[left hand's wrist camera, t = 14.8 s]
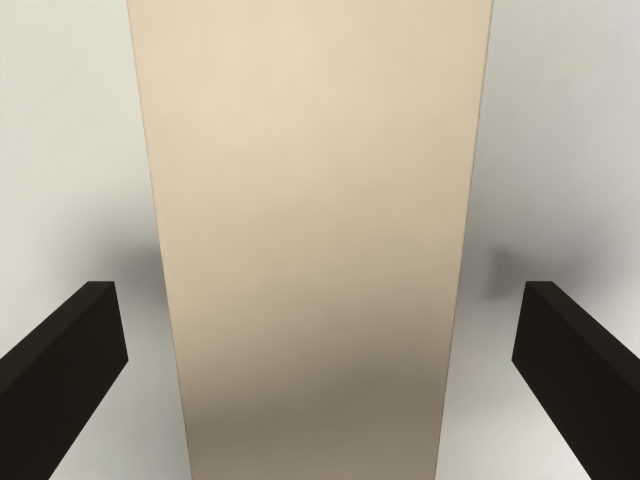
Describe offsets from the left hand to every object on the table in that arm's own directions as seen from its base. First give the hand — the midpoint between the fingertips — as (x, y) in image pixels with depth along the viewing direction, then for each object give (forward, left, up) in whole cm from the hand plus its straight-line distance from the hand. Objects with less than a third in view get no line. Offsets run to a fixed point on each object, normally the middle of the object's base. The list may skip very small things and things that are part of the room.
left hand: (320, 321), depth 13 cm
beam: (+27, +6, -3) cm, 27 cm away
